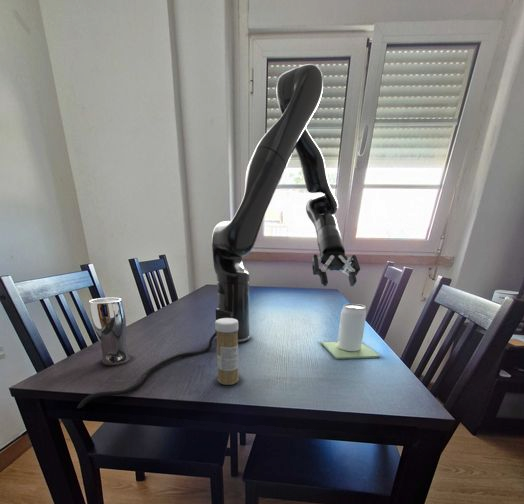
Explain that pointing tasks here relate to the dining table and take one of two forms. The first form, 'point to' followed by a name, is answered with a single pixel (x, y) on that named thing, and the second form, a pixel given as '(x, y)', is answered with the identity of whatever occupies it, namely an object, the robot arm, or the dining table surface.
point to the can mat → (340, 354)
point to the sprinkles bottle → (227, 350)
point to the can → (351, 327)
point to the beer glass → (110, 329)
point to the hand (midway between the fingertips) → (339, 284)
